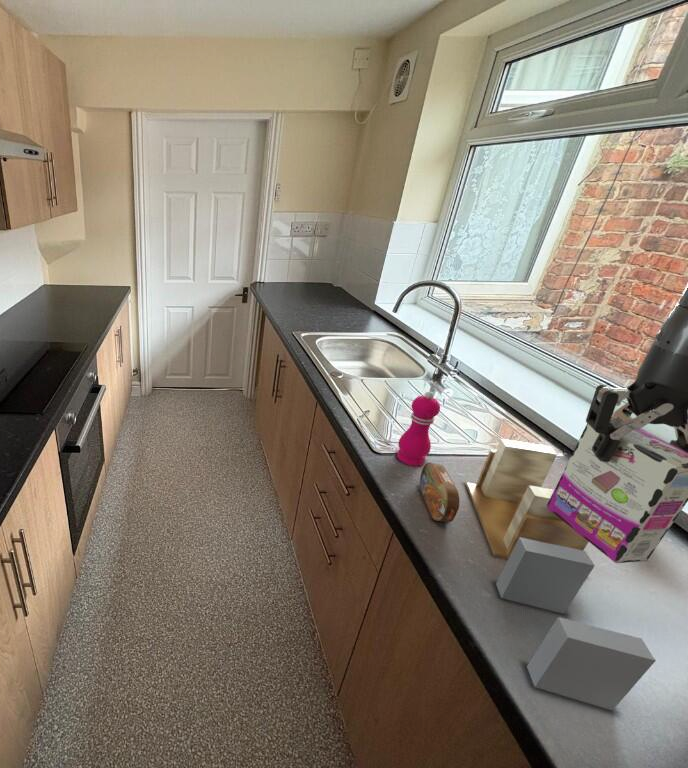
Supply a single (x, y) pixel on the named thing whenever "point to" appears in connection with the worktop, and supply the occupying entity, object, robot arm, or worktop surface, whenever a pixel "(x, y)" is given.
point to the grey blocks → (571, 628)
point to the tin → (439, 492)
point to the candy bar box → (623, 494)
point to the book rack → (519, 499)
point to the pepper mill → (418, 431)
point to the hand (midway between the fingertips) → (633, 462)
